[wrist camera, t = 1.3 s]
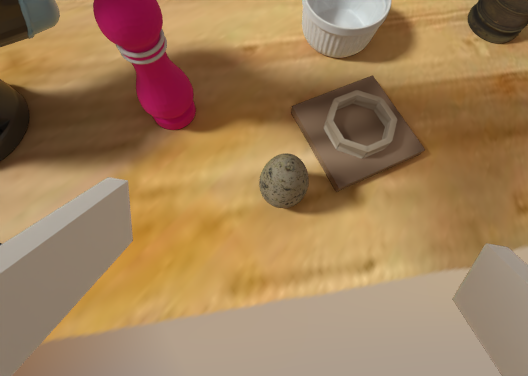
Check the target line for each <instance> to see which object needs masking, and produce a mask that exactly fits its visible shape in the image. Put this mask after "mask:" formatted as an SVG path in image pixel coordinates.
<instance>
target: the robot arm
mask: <svg viewBox="0 0 528 376" xmlns="http://www.w3.org/2000/svg"><path fill="white" fill-rule="evenodd" d="M59 17H60V13H59V9H58V6H57V4H56V2H55V0H0V47H3V46H6V45H9V44H12V43H15V42H18V41H21V40H24V39H27V38H29V39H30V38H33V37H34V35H35V34H37V33H40V32H42V31H44V30H47V29H49V28H51V27H53V26H55V25H56V24H57V22H58V20H59ZM28 122H29V110H28V106H27V103H26V101H25V100H24V98H23V97H22V96H21V95H20V94H19V93H18V92H17V91H16V90H14V89H13V88H12V87H11V86H9V85H8V84H7V83H5V82H4V81H2V80H1V79H0V161H1V160H2V159H4V158H5V157H6V156H7V155H8V154H10V153H11V152H12V151H13V150H14V149H15V147H16V146H17V145H18V144H19V142H20V141H21V139H22V138H23V136H24V134H25V132H26V129H27V126H28ZM132 241H133V237H132V225H131V213H130V201H129V189H128V181H127V180H121V179H115V178H109V177H107V178H106V179H104V180H103V181H101V182H100V183H98V184H96V185H95V186H93V187H92V188H90V189H89V190H87V191H85V192H84V193H82V194H81V195H79V196H77V197H76V198H74V199H73V200H71V201H70V202H68V203H66V204H65V205H63V206H62V207H60V208H58V209H57V210H55V211H54V212H52V213H51V214H49V215H47V216H46V217H44V218H43V219H41V220H40V221H38V222H36V223H35V224H33V225H32V226H30V227H28V228H27V229H25V230H24V231H22V232H21V233H19V234H17V235H16V236H14V237H13V238H11V239H9V240H8V241H6V242H5V243H3V244H2V243H0V376H12V375H13V374H14V373H15V372H16V370H17V369H18V368H19V367H20V366H21V365H22V364H23V363H24V362H25V360H26V359H27V358H28V357H29V356H30V355H31V354H32V353H33V351H34V350H35V349H36V348H37V347H38V346H39V345H40V344H41V343H42V342H43V340H44V339H45V338H46V337H47V336H48V335H49V334H50V333H51V332H52V330H53V329H54V328H55V327H56V326H57V325H58V324H59V323H60V321H61V320H62V319H63V318H64V317H65V316H66V315H67V314H68V313H69V311H70V310H71V309H72V308H73V307H74V306H75V305H76V304H77V302H78V301H79V300H80V299H81V298H82V297H83V296H84V295H85V294H86V292H87V291H88V290H89V289H90V288H91V287H92V286H93V285H94V283H95V282H96V281H97V280H98V279H99V278H100V277H101V276H102V275H103V273H104V272H105V271H106V270H107V269H108V268H109V267H110V266H111V264H112V263H113V262H114V261H115V260H116V259H117V258H118V257H119V256H120V254H121V253H122V252H123V251H124V250H125V249H126V248H127V247H128V245H129V244H130V243H131V242H132ZM453 301H454V302H455V304H456V306H457V307H458V309H459V310H460V312H461V313H462V315H463V316H464V318H465V319H466V321H467V323H468V324H469V325H470V327H471V329H472V330H473V332H474V333H475V335H476V336H477V338H478V339H479V341H480V343H481V344H482V346H483V347H484V349H485V350H486V352H487V353H488V355H489V356H490V358H491V360H492V361H493V363H494V364H495V366H496V367H497V369H498V370H499V372H500V374H501V375H502V376H528V265H527V264H526V263H525V262H524V261H523V260H521V259H520V258H519V257H518V256H517V255H516V254H515V253H514V252H513V251H512V250H510V249H509V248H508V247H505V246H499V245H493V244H487V243H486V244H485V245H484V247H483V249H482V250H481V252H480V254H479V255H478V257H477V259H476V260H475V262H474V264H473V265H472V267H471V269H470V270H469V272H468V274H467V276H466V277H465V279H464V280H463V282H462V284H461V285H460V287H459V289H458V290H457V292H456V294H455V295H454V297H453Z"/></svg>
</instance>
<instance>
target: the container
mask: <svg viewBox="0 0 528 376" xmlns="http://www.w3.org/2000/svg"><path fill="white" fill-rule="evenodd" d="M468 23H469V26H470V27H471V29H472V30H473V31H474V32H475V33H476V34H477V35H478V36H480V37H481V38H483V39H485V40H487V41H489V42H493V43H505V42H508V41H510V40H512V39H514V38H515V37H516V36H517V35H518V34H519V33H520V32H521V30H522V29H523V28H525V27H526V25H527V24H528V0H479V1H478V3H477V4H475V5H474V6H473V7H472V9H471V10H470V12H469V15H468Z"/></svg>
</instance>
